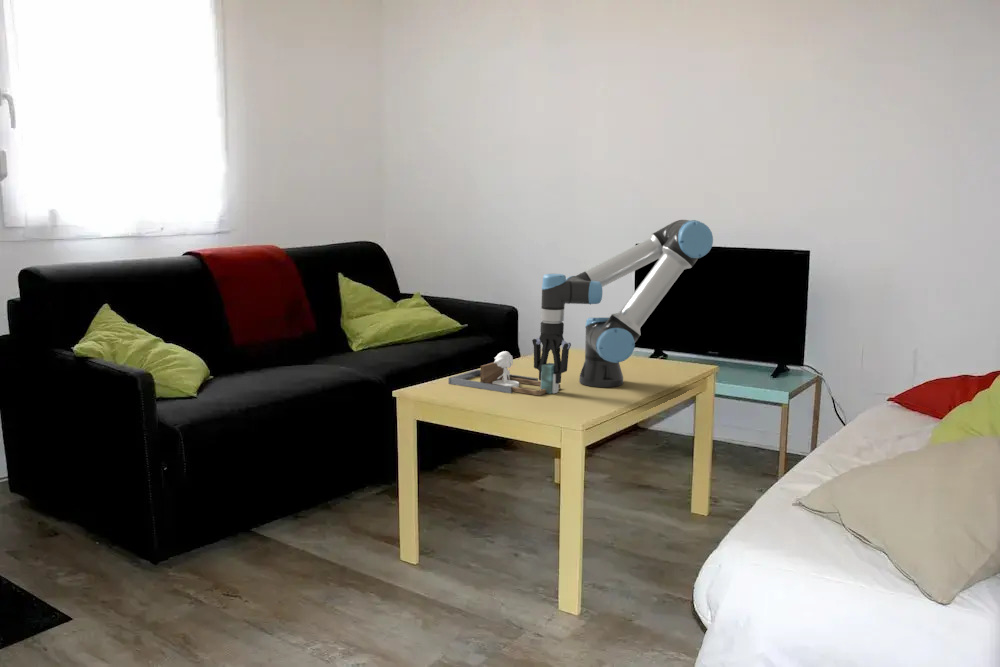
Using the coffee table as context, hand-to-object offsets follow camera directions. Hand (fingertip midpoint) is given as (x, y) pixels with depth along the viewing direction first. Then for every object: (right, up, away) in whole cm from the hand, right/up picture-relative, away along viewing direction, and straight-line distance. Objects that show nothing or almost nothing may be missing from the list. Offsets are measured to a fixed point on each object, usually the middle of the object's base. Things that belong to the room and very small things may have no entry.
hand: (549, 391), depth 285 cm
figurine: (-14, +1, +9) cm, 17 cm away
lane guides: (-19, +2, +12) cm, 23 cm away
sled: (-9, +1, +6) cm, 11 cm away
